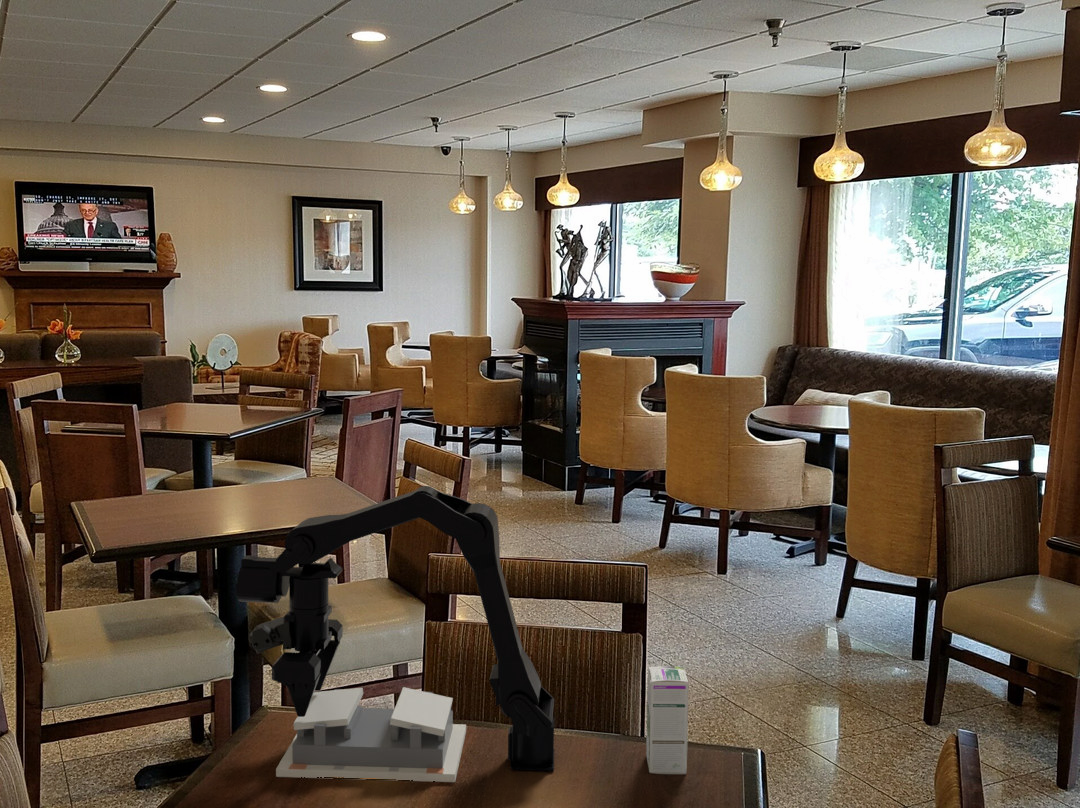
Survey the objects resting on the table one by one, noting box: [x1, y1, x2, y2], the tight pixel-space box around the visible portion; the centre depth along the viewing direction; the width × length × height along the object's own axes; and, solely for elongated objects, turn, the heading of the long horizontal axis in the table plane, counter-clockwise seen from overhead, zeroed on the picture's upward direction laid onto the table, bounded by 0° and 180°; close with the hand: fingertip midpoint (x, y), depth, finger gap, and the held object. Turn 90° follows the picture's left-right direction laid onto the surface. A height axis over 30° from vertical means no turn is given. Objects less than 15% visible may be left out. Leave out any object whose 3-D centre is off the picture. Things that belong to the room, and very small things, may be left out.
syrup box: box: [645, 665, 689, 775], centre depth 147 cm, size 6×6×14 cm
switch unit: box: [275, 688, 467, 783], centre depth 150 cm, size 26×16×7 cm, turn 89°
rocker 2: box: [390, 686, 454, 736], centre depth 149 cm, size 8×11×2 cm
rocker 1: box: [293, 687, 364, 731], centre depth 150 cm, size 8×11×2 cm
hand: (309, 702), depth 150 cm, fingers open, 9 cm apart
